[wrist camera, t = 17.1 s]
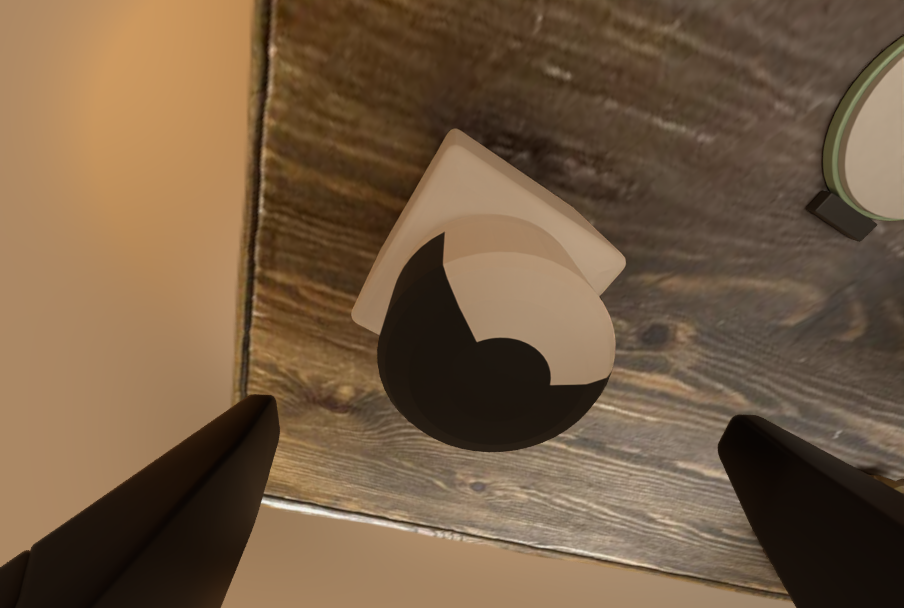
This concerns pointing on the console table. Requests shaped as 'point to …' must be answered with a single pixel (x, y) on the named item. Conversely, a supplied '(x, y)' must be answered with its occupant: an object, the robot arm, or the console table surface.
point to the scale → (866, 150)
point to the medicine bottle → (490, 305)
